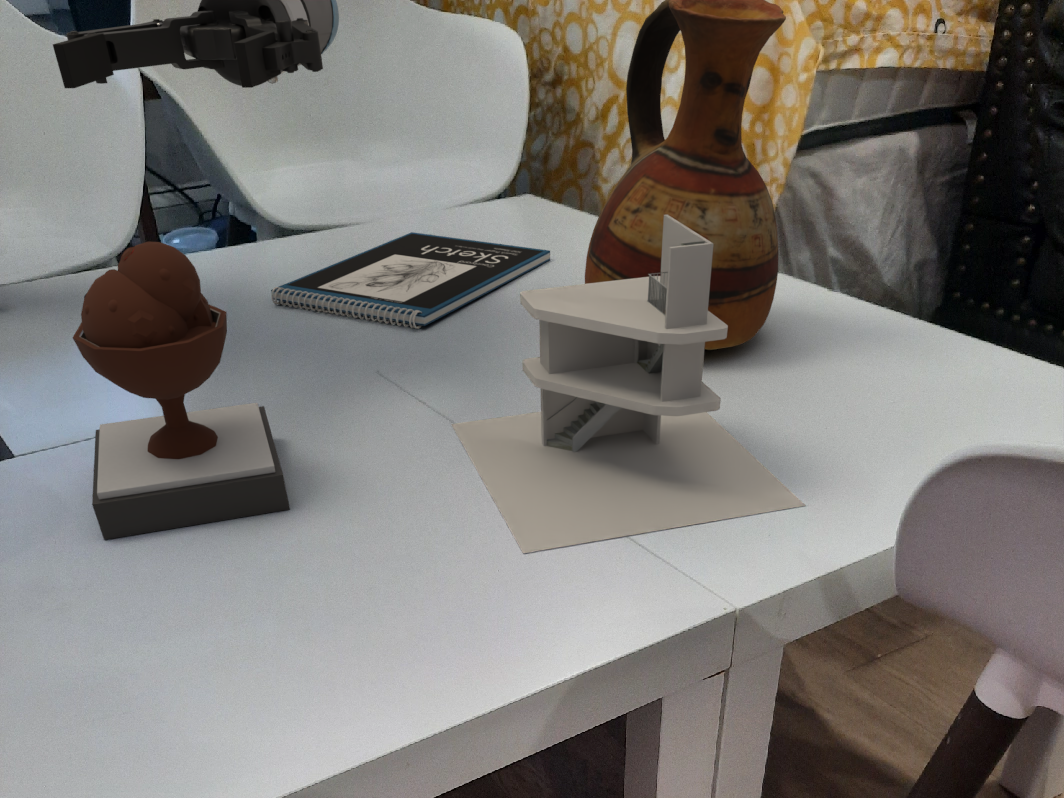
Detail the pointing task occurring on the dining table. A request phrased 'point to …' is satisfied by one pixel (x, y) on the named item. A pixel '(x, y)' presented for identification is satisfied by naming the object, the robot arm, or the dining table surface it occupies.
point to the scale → (186, 474)
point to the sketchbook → (410, 278)
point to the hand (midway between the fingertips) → (152, 66)
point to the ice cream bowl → (155, 339)
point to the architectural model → (621, 414)
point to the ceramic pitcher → (696, 162)
